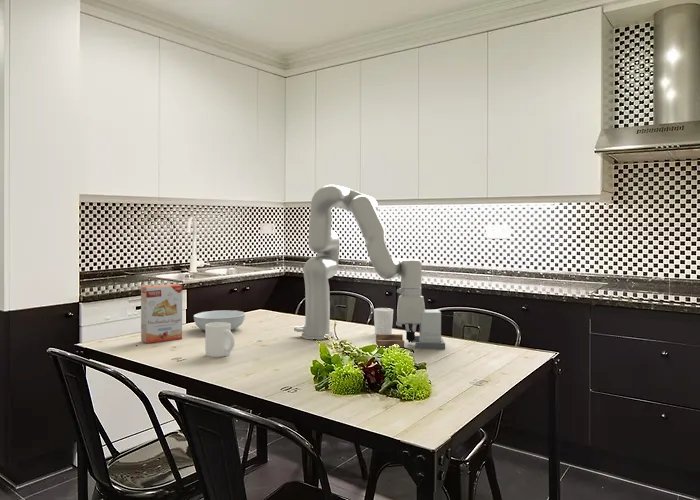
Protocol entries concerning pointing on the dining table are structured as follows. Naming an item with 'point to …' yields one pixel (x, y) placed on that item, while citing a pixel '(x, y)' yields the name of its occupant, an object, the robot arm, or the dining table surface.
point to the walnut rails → (389, 340)
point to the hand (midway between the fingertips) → (410, 341)
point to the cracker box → (161, 313)
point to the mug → (218, 339)
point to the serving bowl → (219, 318)
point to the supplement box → (430, 326)
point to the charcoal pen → (428, 344)
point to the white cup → (383, 320)
